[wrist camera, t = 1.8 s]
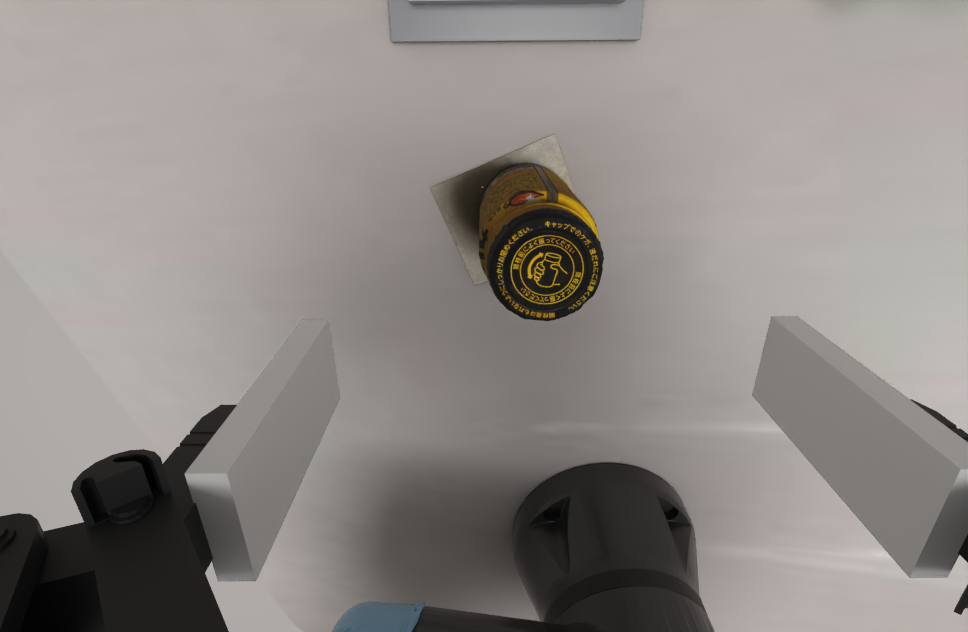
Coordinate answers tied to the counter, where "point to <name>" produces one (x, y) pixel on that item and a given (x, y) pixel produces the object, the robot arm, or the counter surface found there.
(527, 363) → the counter surface
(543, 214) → the condiment
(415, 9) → the dock
